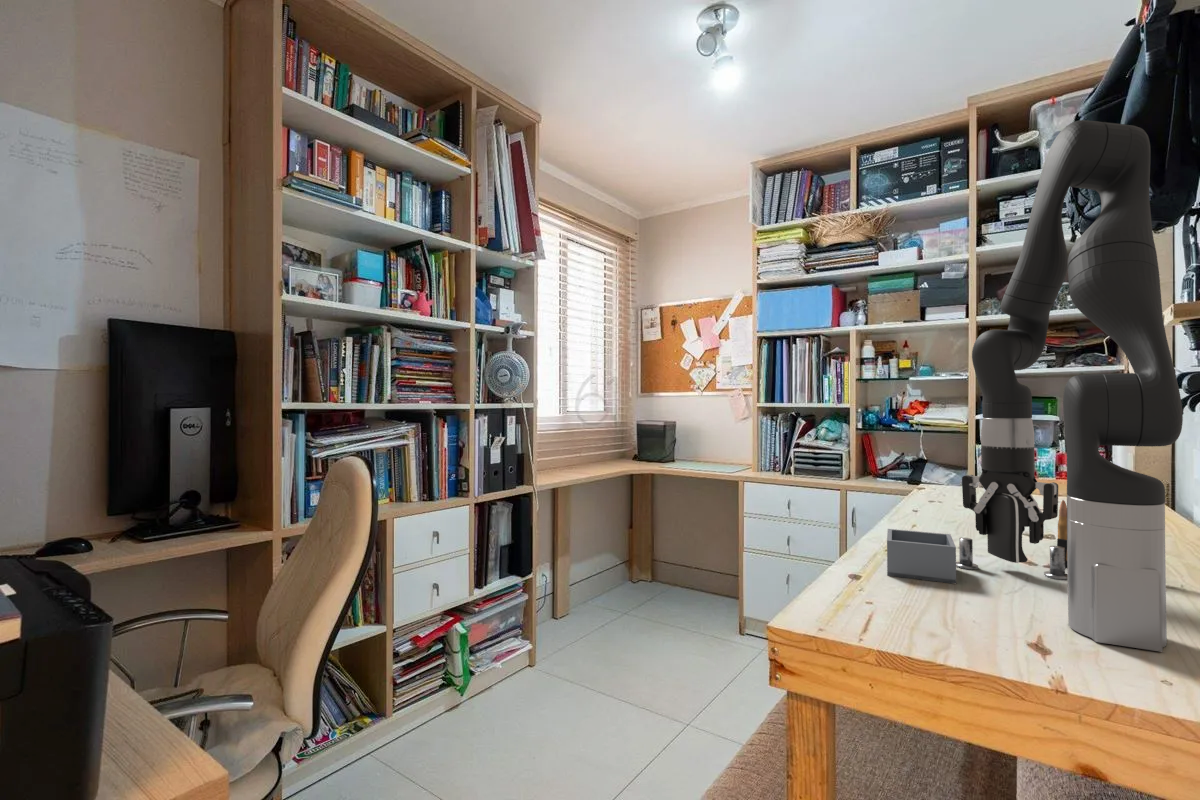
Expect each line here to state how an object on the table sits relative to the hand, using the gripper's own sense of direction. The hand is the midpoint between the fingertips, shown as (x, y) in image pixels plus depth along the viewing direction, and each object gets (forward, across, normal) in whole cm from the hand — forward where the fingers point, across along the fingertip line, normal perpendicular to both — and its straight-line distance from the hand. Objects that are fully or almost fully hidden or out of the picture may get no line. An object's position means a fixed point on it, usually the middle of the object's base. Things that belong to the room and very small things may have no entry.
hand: (1008, 538), depth 97 cm
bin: (+6, +8, +13) cm, 16 cm away
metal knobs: (+6, 0, 0) cm, 6 cm away
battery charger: (+4, 0, 0) cm, 4 cm away
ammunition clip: (+6, -8, -12) cm, 16 cm away
